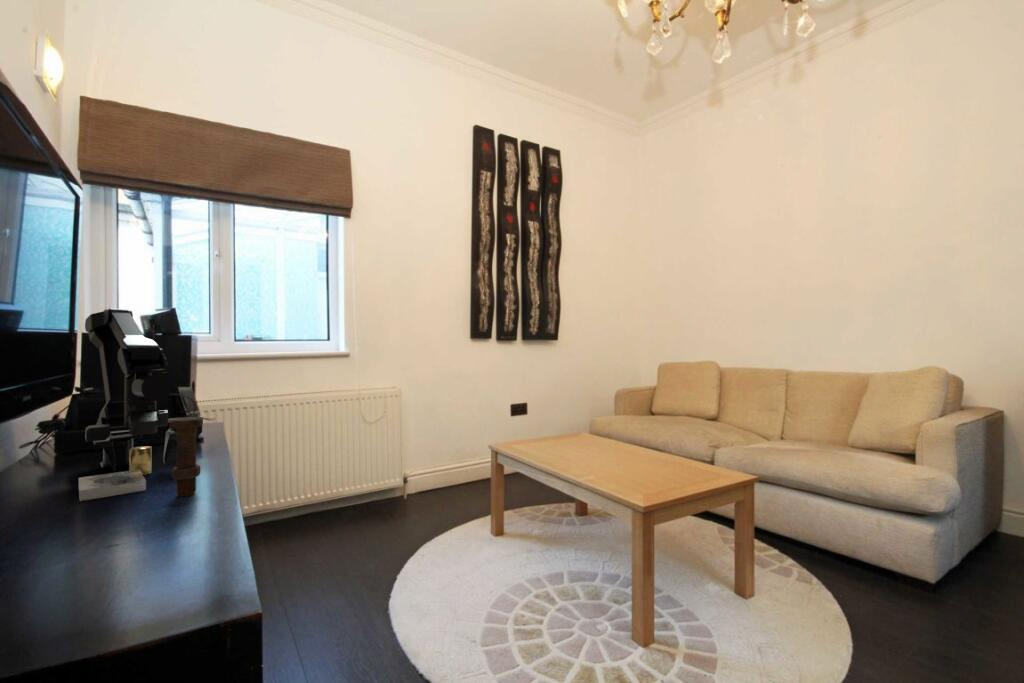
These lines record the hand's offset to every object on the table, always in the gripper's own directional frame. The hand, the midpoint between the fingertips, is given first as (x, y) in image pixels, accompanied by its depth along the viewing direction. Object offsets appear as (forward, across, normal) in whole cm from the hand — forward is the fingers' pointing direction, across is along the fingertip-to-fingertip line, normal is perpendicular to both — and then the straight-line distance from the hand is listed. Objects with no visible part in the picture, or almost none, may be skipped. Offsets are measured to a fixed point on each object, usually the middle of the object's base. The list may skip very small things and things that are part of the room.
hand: (140, 466), depth 109 cm
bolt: (+2, +5, -25) cm, 26 cm away
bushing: (+2, 0, 0) cm, 2 cm away
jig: (+2, -6, -10) cm, 12 cm away
